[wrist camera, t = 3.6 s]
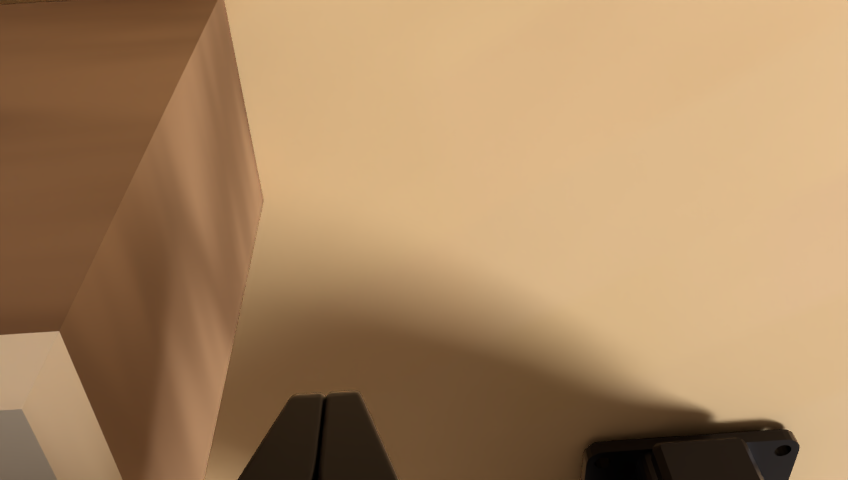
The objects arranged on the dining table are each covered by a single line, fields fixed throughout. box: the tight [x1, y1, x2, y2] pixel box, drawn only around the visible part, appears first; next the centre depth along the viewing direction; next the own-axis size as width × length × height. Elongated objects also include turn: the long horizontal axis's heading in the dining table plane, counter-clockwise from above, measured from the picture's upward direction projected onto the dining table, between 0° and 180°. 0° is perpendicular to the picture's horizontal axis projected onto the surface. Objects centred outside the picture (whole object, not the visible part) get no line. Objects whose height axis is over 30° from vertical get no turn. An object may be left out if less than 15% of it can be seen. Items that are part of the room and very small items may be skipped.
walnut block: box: [0, 0, 263, 480], centre depth 13 cm, size 5×5×11 cm
